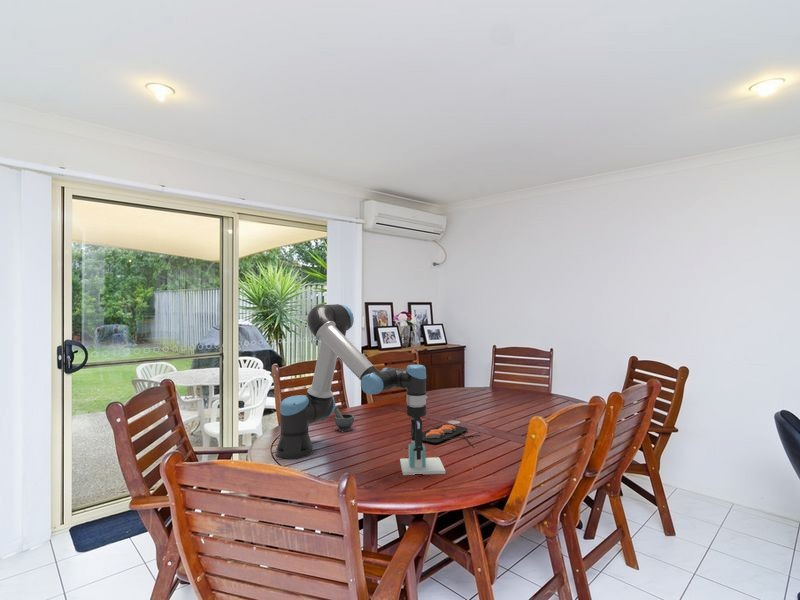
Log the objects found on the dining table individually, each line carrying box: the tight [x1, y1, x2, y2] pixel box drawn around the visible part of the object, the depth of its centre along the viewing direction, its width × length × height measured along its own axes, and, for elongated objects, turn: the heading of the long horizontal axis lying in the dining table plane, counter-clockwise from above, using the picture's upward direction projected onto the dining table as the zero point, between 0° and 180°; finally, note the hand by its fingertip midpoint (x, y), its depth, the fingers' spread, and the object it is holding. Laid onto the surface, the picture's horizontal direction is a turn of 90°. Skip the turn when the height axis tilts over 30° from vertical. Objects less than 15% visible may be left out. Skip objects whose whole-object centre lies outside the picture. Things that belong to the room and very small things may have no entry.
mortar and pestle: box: [333, 405, 355, 432], centre depth 223 cm, size 11×9×12 cm
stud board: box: [399, 456, 446, 476], centre depth 173 cm, size 16×14×6 cm
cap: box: [407, 443, 427, 468], centre depth 173 cm, size 6×6×7 cm
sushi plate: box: [422, 423, 481, 449], centre depth 209 cm, size 29×30×4 cm
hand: (416, 461), depth 173 cm, fingers open, 10 cm apart
